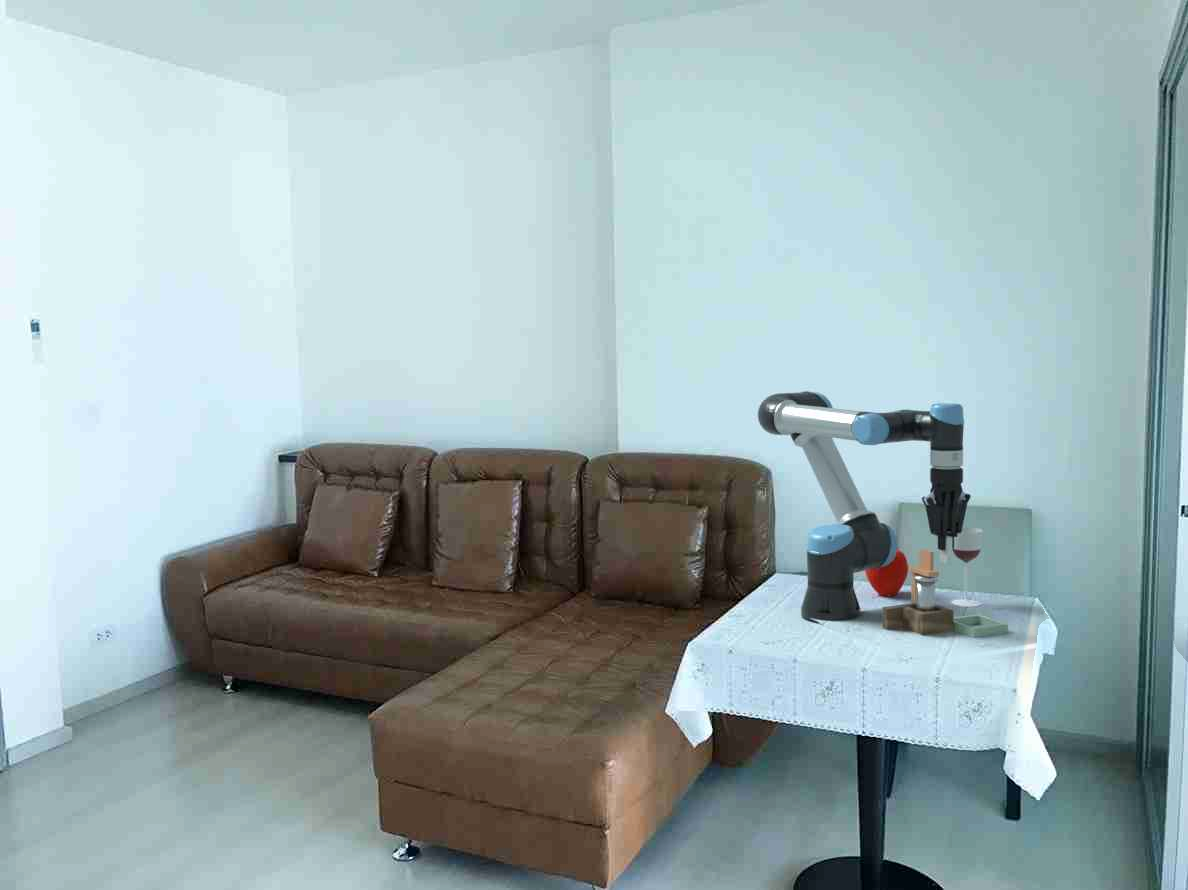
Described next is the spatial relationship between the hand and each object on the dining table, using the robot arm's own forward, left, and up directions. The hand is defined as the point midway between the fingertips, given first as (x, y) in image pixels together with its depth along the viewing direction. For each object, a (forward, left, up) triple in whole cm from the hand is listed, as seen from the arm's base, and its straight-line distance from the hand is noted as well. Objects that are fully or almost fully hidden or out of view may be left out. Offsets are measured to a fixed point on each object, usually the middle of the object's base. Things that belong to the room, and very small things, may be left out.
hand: (945, 562), depth 239 cm
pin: (0, -6, -16) cm, 17 cm away
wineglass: (-18, +21, -17) cm, 33 cm away
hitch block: (0, -8, -17) cm, 19 cm away
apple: (-35, +8, -17) cm, 40 cm away
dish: (+6, +4, -17) cm, 18 cm away
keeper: (-1, -6, -10) cm, 12 cm away
